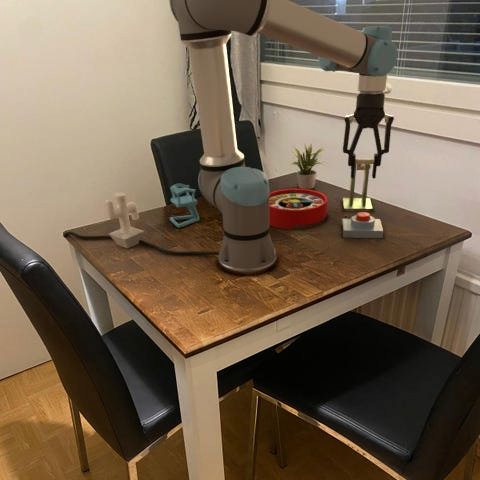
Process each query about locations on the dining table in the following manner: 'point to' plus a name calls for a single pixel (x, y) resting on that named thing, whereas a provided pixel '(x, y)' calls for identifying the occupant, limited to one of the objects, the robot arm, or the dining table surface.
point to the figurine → (124, 221)
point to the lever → (363, 163)
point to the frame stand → (362, 202)
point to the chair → (184, 204)
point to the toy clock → (296, 207)
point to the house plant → (307, 167)
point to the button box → (362, 228)
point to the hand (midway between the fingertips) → (362, 176)
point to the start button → (363, 216)
